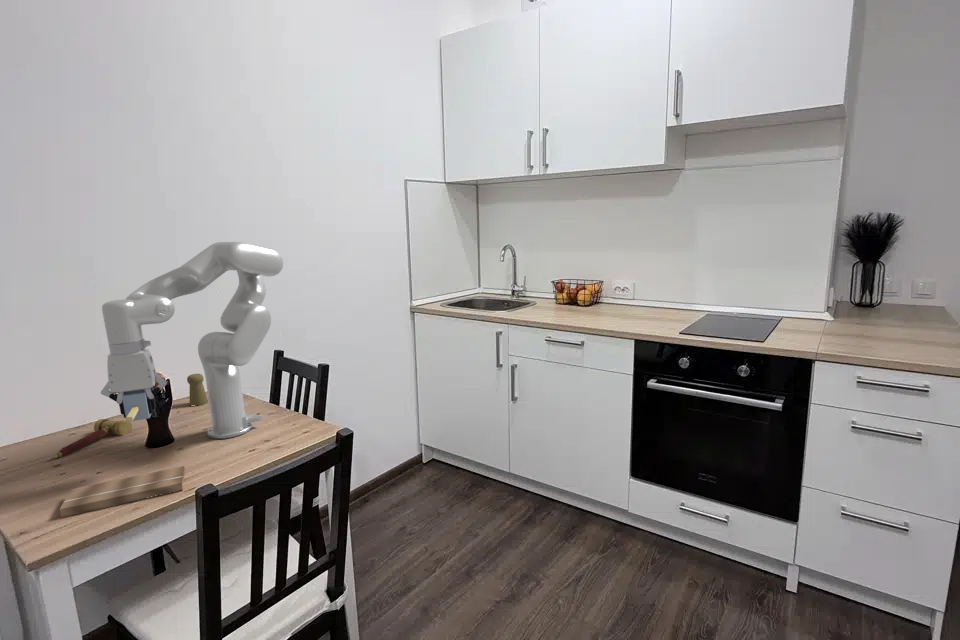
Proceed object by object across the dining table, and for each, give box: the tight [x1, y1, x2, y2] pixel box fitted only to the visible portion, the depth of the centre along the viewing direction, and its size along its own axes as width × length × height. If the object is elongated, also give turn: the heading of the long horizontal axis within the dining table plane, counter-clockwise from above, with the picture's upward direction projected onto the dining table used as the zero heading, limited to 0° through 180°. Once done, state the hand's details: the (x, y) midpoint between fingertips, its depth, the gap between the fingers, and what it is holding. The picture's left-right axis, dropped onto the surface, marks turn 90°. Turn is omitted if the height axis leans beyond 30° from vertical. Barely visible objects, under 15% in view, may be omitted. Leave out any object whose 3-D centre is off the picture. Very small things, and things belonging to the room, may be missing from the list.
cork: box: [186, 373, 209, 407], centre depth 188 cm, size 6×6×11 cm
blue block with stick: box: [122, 389, 152, 423], centre depth 134 cm, size 5×13×7 cm, turn 24°
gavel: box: [53, 418, 133, 459], centre depth 157 cm, size 21×5×10 cm
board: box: [59, 465, 186, 518], centre depth 126 cm, size 24×10×2 cm, turn 116°
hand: (139, 413), depth 138 cm, fingers closed on blue block with stick, 5 cm apart
